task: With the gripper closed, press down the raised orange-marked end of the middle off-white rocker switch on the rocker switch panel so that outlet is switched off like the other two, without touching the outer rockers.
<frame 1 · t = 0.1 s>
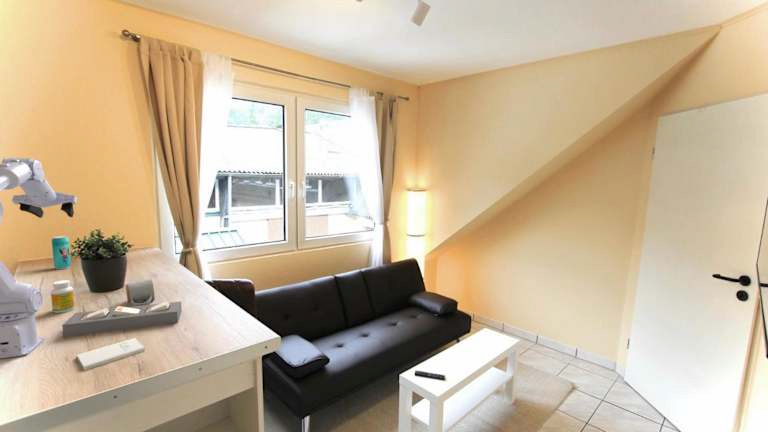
hand: (56, 214, 112), 32 cm above the table, tool tilted 50°, fingers open, 7 cm apart
beverage can: (62, 268, 161), on the table
rocker 1: (94, 315, 103), point 4 cm above the table, hinge at -18.0°
ceramic mug: (142, 302, 124), on the table
rocker 2: (127, 311, 106), point 4 cm above the table, hinge at 18.0°
external hard drive: (111, 357, 89), on the table
supplement bottle: (63, 310, 115), on the table
rocker switch panel: (127, 323, 107), on the table
rocker 3: (157, 308, 110), point 4 cm above the table, hinge at -18.0°
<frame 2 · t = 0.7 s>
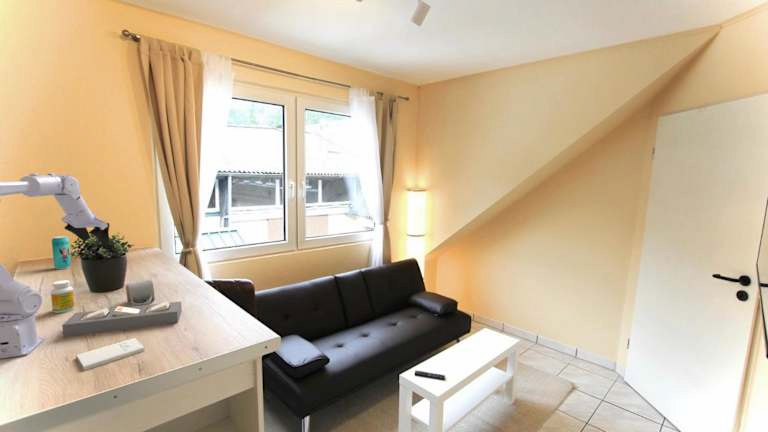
hand: (96, 241, 116), 23 cm above the table, tool tilted 30°, fingers open, 7 cm apart
nothing on the table moved.
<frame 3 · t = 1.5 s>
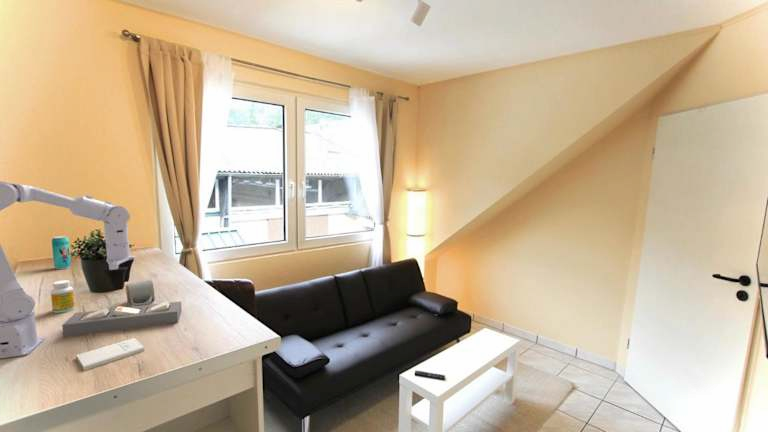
hand: (121, 285, 109), 11 cm above the table, tool pointing down, fingers open, 7 cm apart
nothing on the table moved.
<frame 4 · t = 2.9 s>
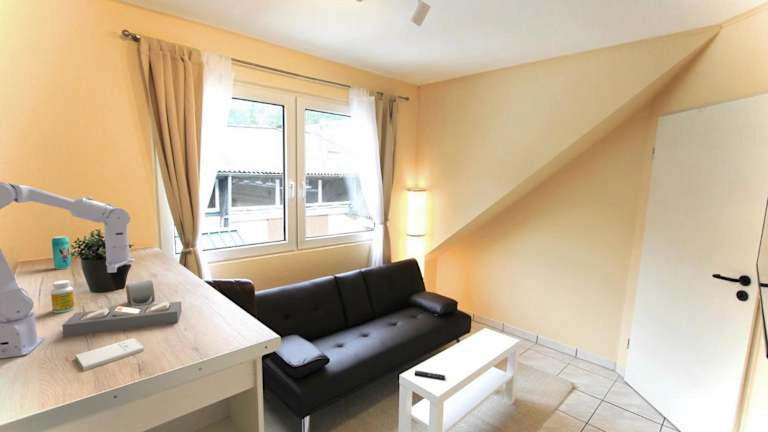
hand: (120, 288, 107), 10 cm above the table, tool pointing down, fingers closed
nothing on the table moved.
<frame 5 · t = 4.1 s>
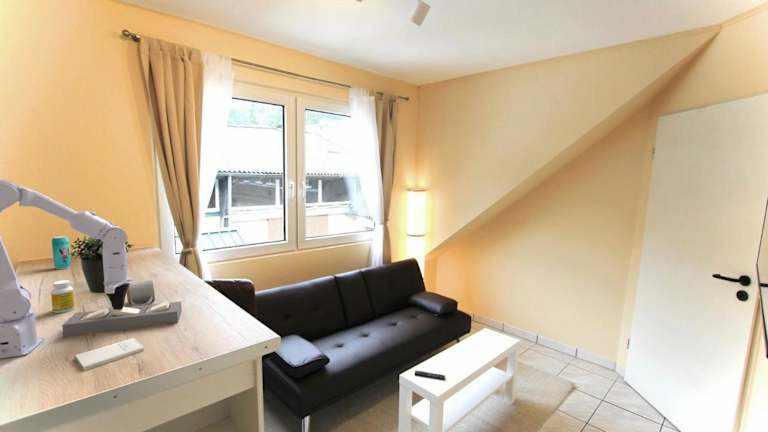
hand: (118, 308, 105), 5 cm above the table, tool pointing down, fingers closed, pressing on rocker 2
rocker 2: (127, 311, 106), point 4 cm above the table, hinge at 17.9°, touching gripper
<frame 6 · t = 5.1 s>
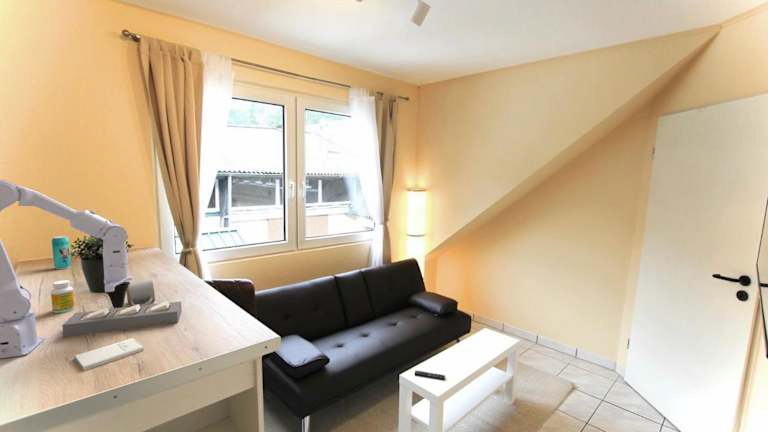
hand: (118, 307, 105), 6 cm above the table, tool pointing down, fingers closed
rocker 2: (127, 311, 106), point 4 cm above the table, hinge at -17.7°
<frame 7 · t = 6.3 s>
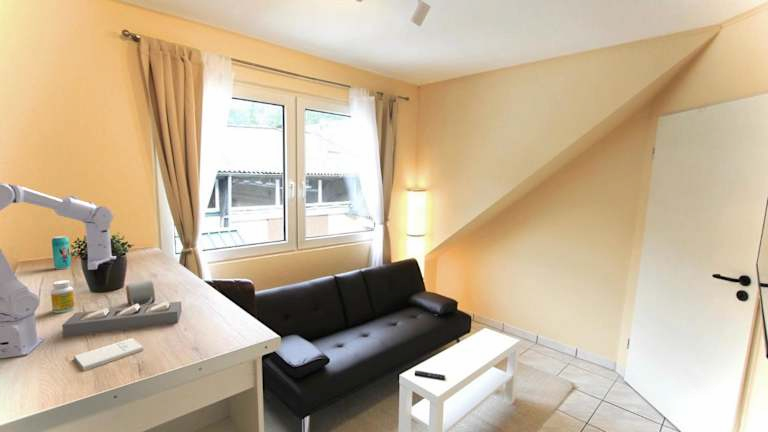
hand: (102, 285, 110), 10 cm above the table, tool pointing down, fingers closed
rocker 2: (127, 311, 106), point 4 cm above the table, hinge at -26.0°
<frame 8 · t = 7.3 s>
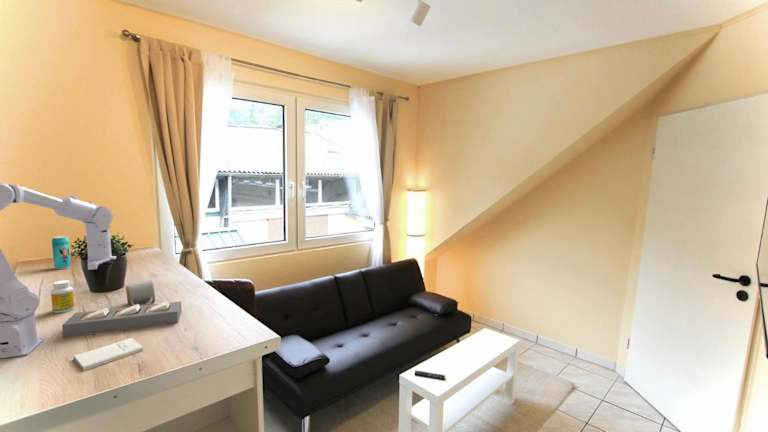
hand: (102, 285, 110), 10 cm above the table, tool pointing down, fingers closed
rocker 2: (127, 311, 106), point 4 cm above the table, hinge at -20.4°
at the end: rocker 2 at -20° (first picture: +18°); rocker 1 at -18° (first picture: -18°); rocker 3 at -18° (first picture: -18°) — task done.
